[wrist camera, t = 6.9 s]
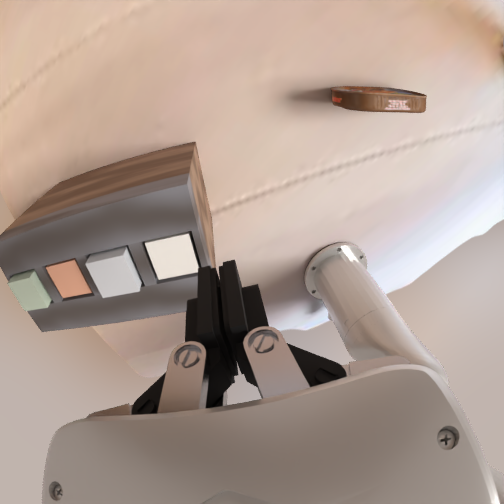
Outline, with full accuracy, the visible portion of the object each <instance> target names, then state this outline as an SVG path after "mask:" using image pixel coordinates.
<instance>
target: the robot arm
mask: <svg viewBox="0 0 504 504" xmlns="http://www.w3.org/2000/svg"><path fill="white" fill-rule="evenodd" d="M219 275H220V280H219V277H218V273H217V270H216V268H211V266H210V265H209V266H205V267H201V268H198V287H197V298H193V299H189V300H187V309H186V331H185V342H184V343H182V344H180V345H178V346H177V347H176V348H175V349H174V350H173V351H172V353H171V355H170V358H169V363H168V367H167V371H166V373H165V374H164V375H163V376H162V377H160V378H159V379H158V380H157V381H156V382H155V383H154V384H153V385H152V386H151V387H150V388H149V389H148V390H147V391H146V392H144V393H143V394H142V395H141V396H140V397H139V398H138V399H137V400H136V401H135V403H134V404H133V405H130V404H129V403H128V404H125V405H121V406H117V407H114V408H110V409H106V410H102V411H98V412H94V413H92V414H89V415H88V416H87V418H84V419H80V420H76V421H73V422H70V423H68V424H66V425H64V426H62V427H61V428H59V429H58V430H57V431H56V432H55V434H54V436H53V437H52V440H51V443H50V446H49V449H48V453H47V458H46V464H45V470H44V478H43V491H42V504H504V474H502V473H501V472H500V471H498V470H497V469H495V468H493V467H492V466H490V465H489V464H488V462H487V460H486V457H485V455H484V452H483V450H482V448H481V445H480V443H479V441H478V439H477V436H476V434H475V432H474V430H473V428H472V426H471V424H470V421H469V419H468V418H467V416H466V414H465V412H464V410H463V408H462V407H461V405H460V403H459V401H458V400H457V398H456V396H455V395H454V393H453V392H452V390H451V389H450V387H449V386H448V385H449V380H448V376H447V373H446V371H445V369H444V367H443V366H442V364H441V363H440V362H439V361H438V360H437V358H436V357H435V356H434V355H433V354H432V353H431V352H430V351H429V350H428V349H427V348H426V347H425V346H424V345H423V343H422V342H421V341H420V340H419V339H418V338H417V336H416V335H415V334H414V333H413V332H412V330H411V329H410V328H409V326H408V325H407V324H406V322H405V321H404V320H403V318H402V317H401V315H400V314H399V313H398V311H397V310H396V309H395V307H394V306H393V304H392V303H391V302H390V300H389V299H388V297H387V296H386V295H385V293H384V292H383V291H382V289H381V288H380V287H379V285H378V284H377V283H376V281H375V280H374V279H373V277H372V276H371V275H370V274H369V272H368V271H367V259H366V256H365V254H364V252H363V251H362V250H361V249H360V248H359V247H358V246H356V245H354V244H351V243H336V244H333V245H330V246H328V247H326V248H324V249H323V250H321V251H320V252H319V253H317V254H316V255H315V256H314V257H313V259H312V260H311V261H310V263H309V264H308V266H307V268H306V271H305V277H304V281H305V285H306V288H307V290H308V291H309V293H310V294H311V295H312V296H313V297H315V298H317V299H320V300H323V302H324V304H325V306H326V308H327V310H328V318H329V319H330V320H332V321H333V322H334V324H335V326H336V328H337V330H338V332H339V334H340V336H341V338H342V340H343V342H344V344H345V346H346V349H347V351H348V352H349V354H350V355H351V357H352V358H353V359H354V360H356V361H353V362H349V364H348V365H340V364H338V363H336V362H334V361H331V360H328V359H326V358H323V357H320V356H318V355H315V354H312V353H310V352H308V351H305V350H303V349H300V348H297V347H295V346H293V345H290V344H288V343H286V342H285V340H284V338H283V336H282V334H281V333H280V332H279V330H277V329H275V328H273V327H269V325H268V321H267V317H266V313H265V310H264V306H263V302H262V298H261V294H260V290H259V287H258V284H257V285H252V286H248V287H243V288H242V285H241V282H240V278H239V274H238V270H237V266H236V262H235V260H231V261H227V262H223V266H219ZM237 363H238V366H239V368H240V371H241V373H242V374H244V375H245V378H246V380H247V382H249V383H251V384H253V385H254V386H256V387H258V390H259V393H260V395H261V398H262V399H259V400H254V401H249V402H244V403H238V404H232V405H227V391H226V390H227V389H228V388H229V387H230V385H231V384H232V383H235V380H234V376H237V375H238V368H237Z"/></svg>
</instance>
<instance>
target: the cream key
mask: <svg viewBox="0 0 504 504" xmlns="http://www.w3.org/2000/svg"><path fill="white" fill-rule="evenodd" d="M145 245H146V248H147V251H148V254H149V256H150V259H151V261H152V264H153V267H154V269H155V272H156V274H157V277H158V279H159V280H160V279H165V278H171V277H176V276H181V275H186V274H191V273H196V272H198V268H200V259H199V256H198V252H197V249H196V245H195V241H194V238H193V234H192V231H188V232H183V233H178V234H174V235H169V236H165V237H160V238H156V239H151V240H147V241H145Z"/></svg>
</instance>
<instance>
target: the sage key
mask: <svg viewBox="0 0 504 504" xmlns="http://www.w3.org/2000/svg"><path fill="white" fill-rule="evenodd" d="M8 285H9V287H10V289H11V290H12V292H13V293H14V295H15V296H16V298H17V300H18V301H19V303H20V304H21V306H22V308H23V309H24V310H25V311H30V310H36V309H42V308H48V306H49V304H50V302H51V300H52V299H51V297H50V295H49V294H48V292H47V290H46V289H45V287H44V285H43V283H42V282H41V280H40V278H39V276H38V275H37V273H36V271H35V269H31V270H27V271H24V272H20V273H17V274H14V275H13V276H12V278H11V279H10V280H9V282H8Z"/></svg>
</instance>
